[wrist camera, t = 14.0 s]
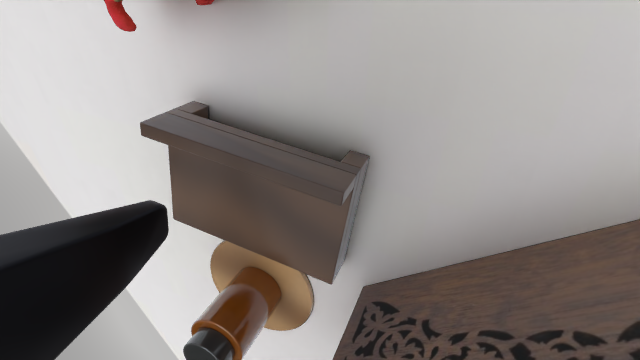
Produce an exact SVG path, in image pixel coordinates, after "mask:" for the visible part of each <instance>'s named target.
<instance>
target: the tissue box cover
mask: <svg viewBox="0 0 640 360" xmlns="http://www.w3.org/2000/svg"><path fill="white" fill-rule="evenodd" d="M333 360H640V220H637V221H632V222H628V223H624V224H620V225H616V226H612V227H608V228H604V229H599V230H595V231H591V232H587V233H583V234H579V235H575V236H571V237H567V238H562V239H558V240H554V241H550V242H546V243H542V244H538V245H534V246H529V247H525V248H521V249H517V250H513V251H509V252H505V253H501V254H497V255H492V256H488V257H484V258H480V259H476V260H472V261H468V262H464V263H459V264H455V265H451V266H447V267H443V268H439V269H435V270H431V271H427V272H422V273H418V274H414V275H410V276H406V277H402V278H398V279H394V280H390V281H385V282H381V283H377V284H373V285H369V286H365V287H363V289H362V291H361V294H360V296H359V298H358V301H357V303H356V305H355V308H354V310H353V313H352V315H351V317H350V320H349V322H348V324H347V327H346V329H345V331H344V334H343V336H342V339H341V341H340V343H339V346H338V348H337V350H336V353H335V355H334V358H333Z"/></svg>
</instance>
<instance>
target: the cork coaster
mask: <svg viewBox="0 0 640 360" xmlns="http://www.w3.org/2000/svg"><path fill="white" fill-rule="evenodd" d="M210 266H211V274H212V278H213V281H214V283H215V285H216V287H217V289H218V291H219V293H221V291H222V290H223V289H224V288H225V287H226V286H227V284H228V283H229V282H230V281H231V280H232V279H233V278H234V276H235V275H236V274H237V273H238V272H239V271H240V270H241V269H243V268H245V267H255V268H259V269H261V270H263V271H265V272H267V273H268V274H269V275H271V276H272V277H273V278H274V279H275V281H276V282H277V283H278V285H279V287H280V290H281V295H282V296H281V301H280V303H279V305H278V306H277V308H276V309H275V311H274V312H273V314H272V315H271V317H270V318H269V320H268V321H267V323H266V324H265V326H264V328H267V329H272V330H279V331H285V330H292V329H295V328H297V327H299V326H301V325H302V324H303V323H305V321H306V320H307V319H308V317H309V315H310V314H311V312H312V308H313V302H314V299H313V292H312V288H311V285H310V282H309V280H308V278H307V276H306V275H305V273H302V272H300V271H298V270H295V269H293V268H290V267H288V266H286V265H283V264H281V263H278V262H276V261H274V260H271V259H269V258H266V257H264V256H262V255H259V254H257V253H254V252H252V251H249V250H247V249H245V248H242V247H240V246H237V245H235V244H233V243H230V242H228V241H223V242H222V243H221V244H220V245H219V246H217V248H216V249H215V250H214V252H213V254H212V258H211V265H210Z"/></svg>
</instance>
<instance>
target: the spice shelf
mask: <svg viewBox="0 0 640 360" xmlns="http://www.w3.org/2000/svg"><path fill="white" fill-rule="evenodd" d="M140 128H141V135H142V136H144V137H147V138H150V139H153V140H156V141H158V142H161V143H164V144H167V145H168V148H169V162H170V176H171V191H172V205H173V219H175V220H177V221H180V222H182V223H184V224H187V225H189V226H192V227H194V228H196V229H199V230H201V231H204V232H206V233H209V234H211V235H213V236H216V237H218V238H221V239H223V240H225V241H228V242H230V243H233V244H235V245H237V246H240V247H242V248H245V249H247V250H249V251H252V252H254V253H257V254H259V255H262V256H264V257H266V258H269V259H271V260H274V261H276V262H278V263H281V264H283V265H286V266H288V267H290V268H293V269H295V270H298V271H300V272H302V273H305V274H307V275H310V276H312V277H315V278H317V279H319V280H322V281H324V282H327V283H329V284H332V283H333V281H334V279H335V277H336V275H337V273H338V272H339V270H340V268H341V266H342V264H343V262H344V260H345V256H346V252H347V248H348V244H349V240H350V235H351V231H352V227H353V223H354V219H355V215H356V211H357V207H358V203H359V198H360V194H361V190H362V186H363V182H364V178H365V174H366V170H367V165H368V161H369V156H367V155H364V154H361V153H357V152H354V151H351V150H350V151H349V152H348V154H347V155H346V156H345V157H344V158H343V159H342V161H341V162H339V161H336V160H333V159H330V158H327V157H324V156H320V155H317V154H314V153H311V152H308V151H305V150H302V149H299V148H296V147H293V146H290V145H286V144H283V143H280V142H277V141H274V140H271V139H268V138H265V137H262V136H259V135H255V134H252V133H249V132H246V131H243V130H240V129H237V128H234V127H231V126H228V125H225V124H221V123H218V122H215V121H212V120H209V112H208V106H207V105H204V104H201V103H198V102H194V101H192V102H190V103H187V104H185V105H182V106H180V107H178V108H176V109H172V110H170V111H168V112H165V113H163V114H160V115H158V116H155V117H153V118H150V119H148V120H145V121H143V122H140Z"/></svg>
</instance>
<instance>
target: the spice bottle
mask: <svg viewBox="0 0 640 360" xmlns="http://www.w3.org/2000/svg"><path fill="white" fill-rule="evenodd" d="M281 296H282V295H281V290H280V287H279V285H278V283H277V282H276V281H275V279H274V278H273V277H272V276H271V275H269V274H268V273H267V272H265V271H263V270H261V269H259V268H255V267H245V268H243V269H241V270H240V271H239V272H238V273H237V274H236V275H235V276H234V278H233V279H232V280H231V281H230V282H229V283H228V284H227V286H226V287H225V288H224V289H223V290H222V291H221V293H220V294H219V295H218V296H217V297H216V298H215V299H214V301H213V302H212V303H211V304H210V305H209V306H208V307H207V309H206V310H205V311H204V312H203V313H202V314H201V315H200V317H199V318H198V319H197V320H196V321H195V322H194V324H193V325H192V329H191V333H192V338H191V339H190V340H189V341H188V342H187V344H186V345H185V346H184V349H183V352H184V356H185V358H186V360H242V359H243V358H244V356H245V355H246V353H247V352H248V350H249V348H250V347H251V345H252V344H253V342H254V341H255V339H256V338H257V336H258V335H259V333H260V332H261V330H262V329H263V327H264V326H265V324H266V323H267V321H268V320H269V318H270V317H271V315H272V314H273V312H274V311H275V309H276V308H277V306H278V305H279V303H280V301H281Z"/></svg>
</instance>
